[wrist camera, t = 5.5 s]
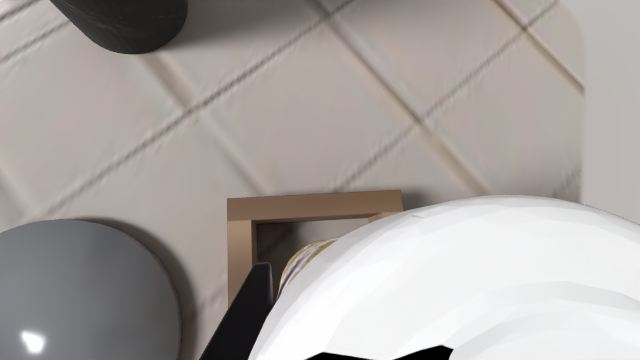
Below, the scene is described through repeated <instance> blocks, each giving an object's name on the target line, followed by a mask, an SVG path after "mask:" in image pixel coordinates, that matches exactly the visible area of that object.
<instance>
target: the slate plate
mask: <svg viewBox="0 0 640 360" xmlns="http://www.w3.org/2000/svg"><path fill="white" fill-rule="evenodd" d="M181 338H182V319H181V311H180V304H179V300H178V297H177V293H176V290H175V287H174V285H173V283H172V280H171V278H170V276H169V274H168V273H167V271H166V269H165V268H164V266H163V264H162V263H161V262H160V261H159V259H158V258H157V257H156V256H155V255H154V253H153V252H152V251H150V250H149V249H148V248H147V247H146V246H145V245H144V244H143V243H141V242H140V241H138V240H137V239H135V238H134V237H132V236H131V235H129V234H127V233H125V232H123V231H121V230H119V229H116V228H113V227H110V226H107V225H104V224H99V223H93V222H87V221H80V220H65V219H58V220H44V221H39V222H34V223H29V224H25V225H22V226H18V227H15V228H12V229H9V230H7V231H4V232H2V233H0V360H178V358H179V354H180V346H181Z"/></svg>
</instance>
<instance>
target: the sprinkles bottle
mask: <svg viewBox="0 0 640 360" xmlns="http://www.w3.org/2000/svg"><path fill="white" fill-rule="evenodd" d="M248 360H640V224H637V223H635V222H632V221H630V220H628V219H625V218H623V217H620V216H617V215H614V214H611V213H609V212H605V211H603V210H600V209H597V208H594V207H591V206H588V205H584V204H579V203H575V202H570V201H565V200H561V199H556V198H549V197H541V196H529V195H486V196H480V197H473V198H466V199H459V200H453V201H447V202H443V203H438V204H434V205H429V206H425V207H420V208H415V209H411V210H407V211H404V212H401V213H398V214H394V215H391V216H388V217H385V218H381V219H379V220H376V221H374V222H371V223H369V224H366V225H364V226H361V227H359V228H357V229H355V230H354V231H352V232H350V233H348V234H346V235H344V236H342V237H339V238H333V239H329V240H322V241H316V242H313V243H310V244H309V245H307V246H305V247H303V248H302V249H301V250H299V251H298V252H297V253H296V254H295V255H294V256H293V257H292V258H291V259H290V260H289V262H288V264H287V266H286V267H285V269H284V271H283V274H282V277H281V281H280V287H279V293H278V296H277V301H276V304H275V305H274V307H273V309H272V310H271V312H270V313H269V315H268V317H267V318H266V320H265V322H264V325H263V327H262V329H261V331H260V333H259V336H258V338H257V340H256V342H255V344H254V347H253V349H252V351H251V353H250V356H249V359H248Z"/></svg>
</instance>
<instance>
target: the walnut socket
mask: <svg viewBox="0 0 640 360" xmlns="http://www.w3.org/2000/svg"><path fill="white" fill-rule="evenodd" d="M401 212H403V204H402V196H401V190H388V191H368V192H348V193H327V194H307V195H287V196H267V197H246V198H227V238H228V308H229V307H230V305H231V303H232V301H233V300H234V298H235V296H236V294H237V293H238V291H239V289H240V287H241V286H242V284H243V282H244V280H245V279H246V277H247V275H248V273H249V272H250V270H251V268H252V266H253V265H254V264H255V263H257V233H256V224H269V223H286V222H303V221H321V220H338V219H355V218H369V223H371V222H374V221H376V220H379V219H381V218H385V217H388V216H391V215H394V214H398V213H401Z"/></svg>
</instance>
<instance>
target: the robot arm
mask: <svg viewBox="0 0 640 360" xmlns="http://www.w3.org/2000/svg"><path fill="white" fill-rule="evenodd" d="M272 309H273V284H272V272H271V264H270V263H269V262H266V263H255V264H254V265H253V266H252V268H251V270H250V272H249V273H248V275H247V277H246V279H245V280H244V282H243V284H242V286H241V287H240V289H239V291H238V293H237V294H236V296H235V298H234V300H233V301H232V303H231V305H230V307H229V308H228V310H227V312H226V314H225V315H224V317H223V319H222V321H221V322H220V324H219V326H218V328H217V329H216V331H215V333H214V335H213V336H212V338H211V340H210V342H209V343H208V345H207V347H206V349H205V350H204V352H203V354H202V356H201V357H200V359H199V360H248V359H249V356H250V353H251V351H252V349H253V347H254V344H255V342H256V340H257V338H258V336H259V333H260V331H261V329H262V327H263V325H264V322H265V320H266V318H267V317H268V315H269V313H270V312H271V310H272Z"/></svg>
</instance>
